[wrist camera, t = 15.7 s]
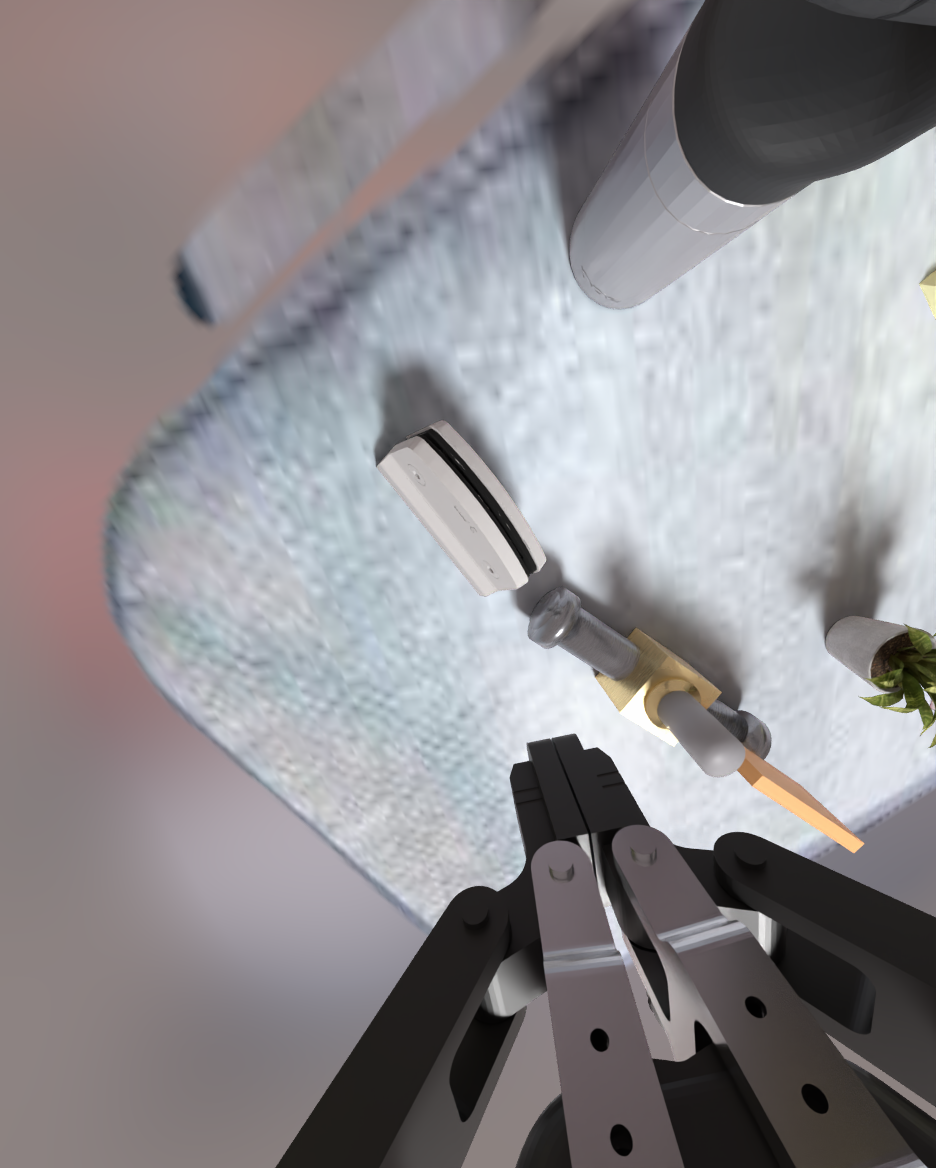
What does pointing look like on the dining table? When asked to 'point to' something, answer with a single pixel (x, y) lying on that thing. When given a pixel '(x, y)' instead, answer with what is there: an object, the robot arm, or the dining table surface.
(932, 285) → the slatted curved stool
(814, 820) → the lever
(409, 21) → the dining table surface
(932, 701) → the cake mix box
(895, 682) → the house plant
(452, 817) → the dining table surface
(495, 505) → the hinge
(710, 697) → the valve
